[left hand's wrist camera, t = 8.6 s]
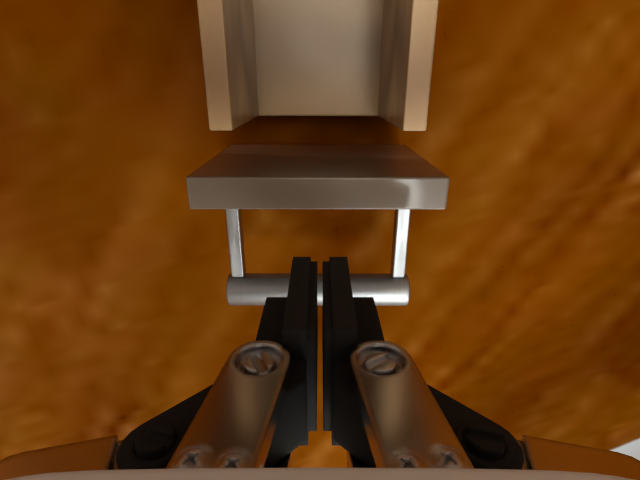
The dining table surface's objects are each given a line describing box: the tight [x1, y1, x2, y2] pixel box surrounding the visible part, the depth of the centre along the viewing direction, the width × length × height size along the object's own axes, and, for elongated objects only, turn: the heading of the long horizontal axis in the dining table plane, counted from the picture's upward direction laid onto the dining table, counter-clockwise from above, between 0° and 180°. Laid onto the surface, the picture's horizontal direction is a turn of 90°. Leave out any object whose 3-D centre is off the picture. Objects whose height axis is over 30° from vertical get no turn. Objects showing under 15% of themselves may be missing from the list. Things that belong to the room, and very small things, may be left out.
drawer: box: [186, 0, 449, 306], centre depth 16 cm, size 25×9×8 cm, turn 0°
